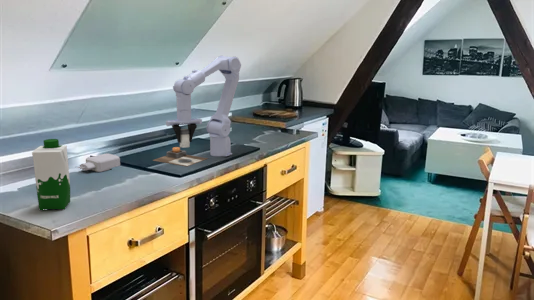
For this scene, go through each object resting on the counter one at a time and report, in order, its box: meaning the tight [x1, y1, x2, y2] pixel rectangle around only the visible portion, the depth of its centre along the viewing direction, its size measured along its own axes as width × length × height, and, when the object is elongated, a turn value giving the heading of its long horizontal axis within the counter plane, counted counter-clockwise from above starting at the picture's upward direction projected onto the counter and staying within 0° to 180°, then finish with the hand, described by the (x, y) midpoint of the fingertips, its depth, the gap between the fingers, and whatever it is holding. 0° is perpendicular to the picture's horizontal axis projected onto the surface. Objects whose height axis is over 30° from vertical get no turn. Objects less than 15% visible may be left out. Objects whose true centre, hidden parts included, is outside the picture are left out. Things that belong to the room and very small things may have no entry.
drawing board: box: [152, 149, 209, 167], centre depth 186 cm, size 15×18×3 cm
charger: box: [76, 153, 121, 173], centre depth 172 cm, size 5×9×15 cm
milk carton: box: [31, 138, 71, 211], centre depth 131 cm, size 9×9×20 cm
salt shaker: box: [179, 128, 191, 148], centre depth 181 cm, size 4×4×7 cm
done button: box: [172, 146, 181, 153], centre depth 191 cm, size 3×3×2 cm
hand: (184, 142), depth 182 cm, fingers closed on salt shaker, 4 cm apart
